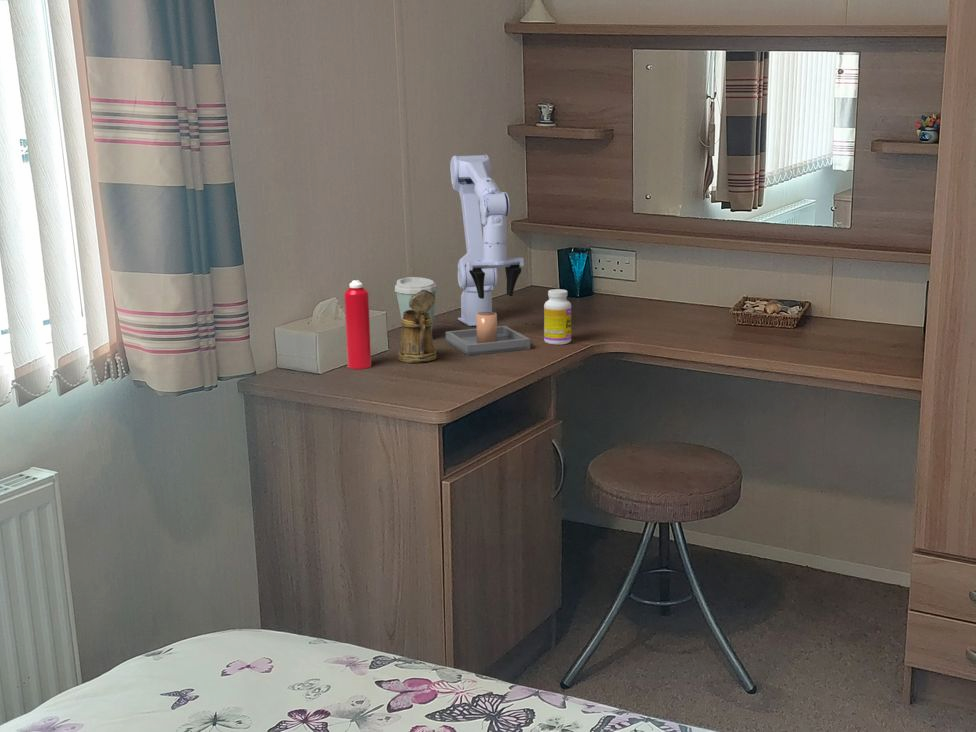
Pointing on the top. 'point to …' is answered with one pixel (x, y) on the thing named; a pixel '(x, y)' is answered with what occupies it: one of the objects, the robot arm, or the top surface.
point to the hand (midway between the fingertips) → (495, 296)
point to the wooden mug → (417, 330)
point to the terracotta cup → (486, 327)
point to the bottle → (357, 326)
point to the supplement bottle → (557, 318)
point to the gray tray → (505, 342)
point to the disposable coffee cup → (413, 292)
